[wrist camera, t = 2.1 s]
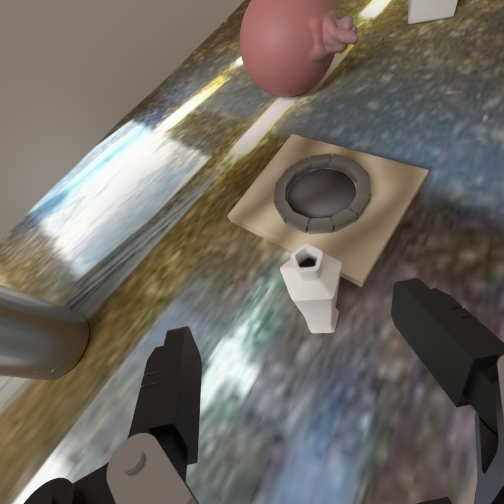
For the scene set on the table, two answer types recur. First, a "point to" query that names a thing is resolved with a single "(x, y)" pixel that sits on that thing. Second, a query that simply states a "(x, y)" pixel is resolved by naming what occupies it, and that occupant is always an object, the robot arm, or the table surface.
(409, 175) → the hub board
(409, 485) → the table surface
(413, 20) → the medicine bottle
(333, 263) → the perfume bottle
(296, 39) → the balloon
